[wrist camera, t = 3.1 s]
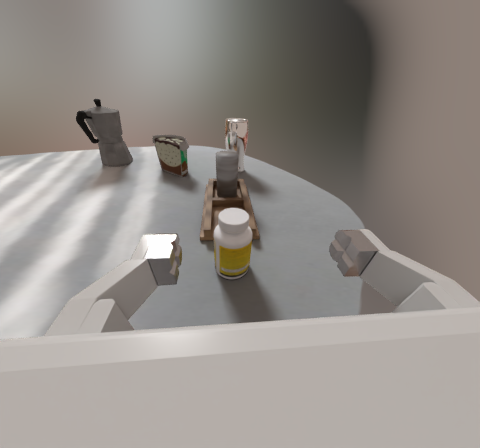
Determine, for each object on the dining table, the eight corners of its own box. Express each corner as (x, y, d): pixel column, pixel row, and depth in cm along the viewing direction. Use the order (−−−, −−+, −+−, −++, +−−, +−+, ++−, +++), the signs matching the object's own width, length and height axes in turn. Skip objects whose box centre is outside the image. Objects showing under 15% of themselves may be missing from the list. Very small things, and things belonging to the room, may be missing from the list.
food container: (200, 172, 59) (197, 139, 53) (185, 178, 55) (181, 143, 49) (173, 163, 64) (168, 132, 58) (158, 168, 60) (151, 135, 54)
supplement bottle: (255, 269, 29) (263, 219, 23) (227, 286, 26) (227, 234, 20) (235, 249, 32) (238, 201, 27) (208, 262, 30) (204, 212, 24)
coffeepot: (118, 154, 69) (98, 96, 58) (142, 157, 68) (126, 98, 57) (85, 169, 57) (52, 99, 46) (113, 172, 56) (86, 102, 45)
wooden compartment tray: (259, 239, 35) (266, 186, 28) (200, 240, 34) (194, 186, 27) (245, 187, 52) (248, 147, 46) (206, 187, 51) (203, 146, 45)
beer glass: (246, 173, 60) (250, 122, 51) (225, 173, 60) (225, 121, 51) (244, 166, 66) (247, 118, 57) (224, 166, 65) (224, 117, 56)
